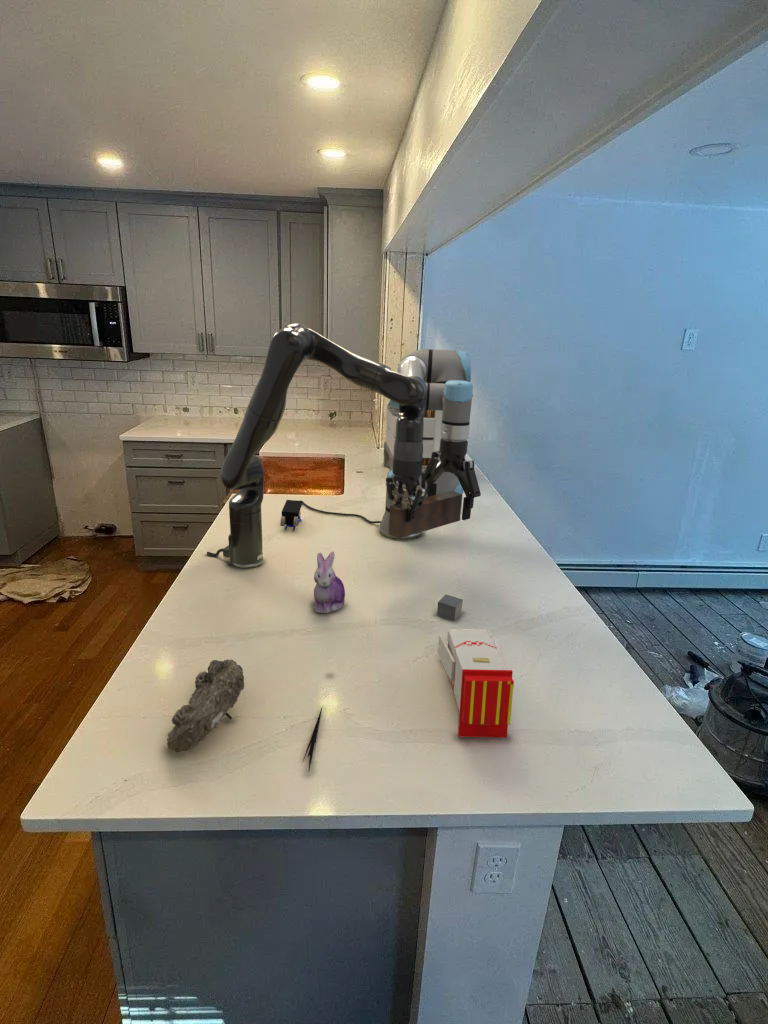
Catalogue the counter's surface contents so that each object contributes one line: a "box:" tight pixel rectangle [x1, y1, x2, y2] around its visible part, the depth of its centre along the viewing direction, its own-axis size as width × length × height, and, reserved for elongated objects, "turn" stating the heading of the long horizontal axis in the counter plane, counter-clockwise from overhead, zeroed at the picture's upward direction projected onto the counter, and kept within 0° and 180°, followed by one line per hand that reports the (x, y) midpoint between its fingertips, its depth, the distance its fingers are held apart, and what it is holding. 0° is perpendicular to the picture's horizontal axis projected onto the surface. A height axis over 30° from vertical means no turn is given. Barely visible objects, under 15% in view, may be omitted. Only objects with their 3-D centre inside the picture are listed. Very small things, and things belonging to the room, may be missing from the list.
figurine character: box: [279, 499, 304, 532], centre depth 202 cm, size 7×8×15 cm
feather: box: [301, 673, 332, 771], centre depth 108 cm, size 2×28×2 cm
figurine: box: [313, 551, 346, 614], centre depth 147 cm, size 9×10×15 cm
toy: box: [437, 628, 515, 738], centre depth 117 cm, size 12×13×30 cm
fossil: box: [166, 658, 245, 754], centre depth 106 cm, size 22×10×15 cm
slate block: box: [436, 593, 464, 621], centre depth 148 cm, size 5×5×4 cm
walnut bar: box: [389, 491, 463, 539], centre depth 156 cm, size 24×4×8 cm, turn 131°
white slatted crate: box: [383, 400, 435, 472], centre depth 268 cm, size 34×33×41 cm
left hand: (403, 519), depth 151 cm, fingers closed on walnut bar, 4 cm apart
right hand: (447, 512), depth 162 cm, fingers open, 13 cm apart
